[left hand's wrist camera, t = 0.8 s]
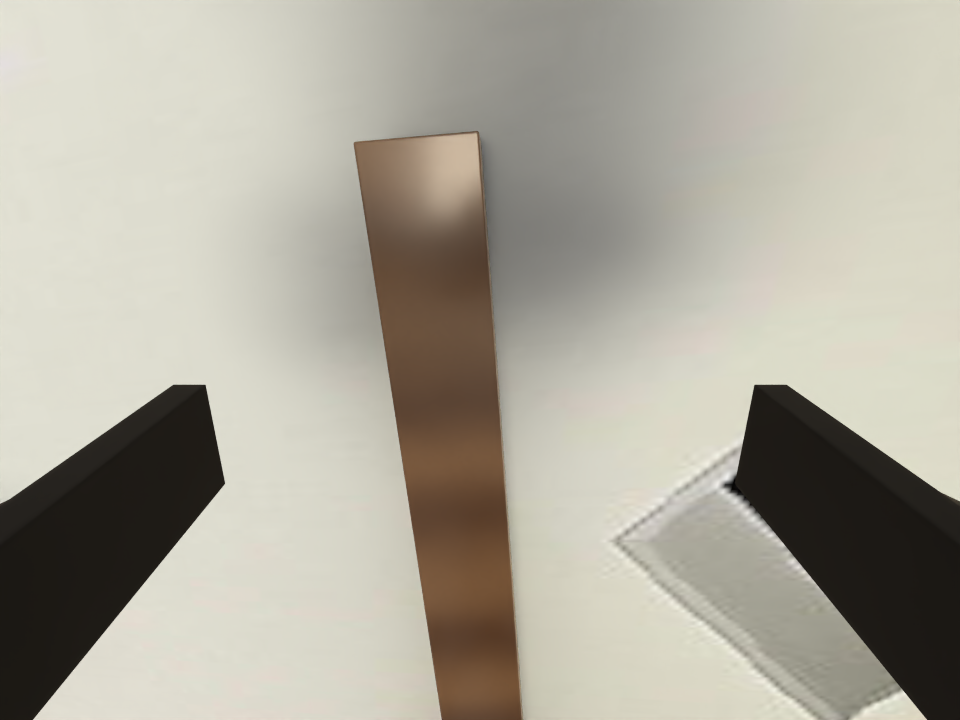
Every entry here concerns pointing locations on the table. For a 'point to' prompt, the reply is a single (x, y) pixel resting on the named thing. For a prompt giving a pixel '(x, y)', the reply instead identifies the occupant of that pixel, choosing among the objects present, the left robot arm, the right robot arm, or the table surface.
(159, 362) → the table surface
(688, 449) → the table surface
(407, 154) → the bar
